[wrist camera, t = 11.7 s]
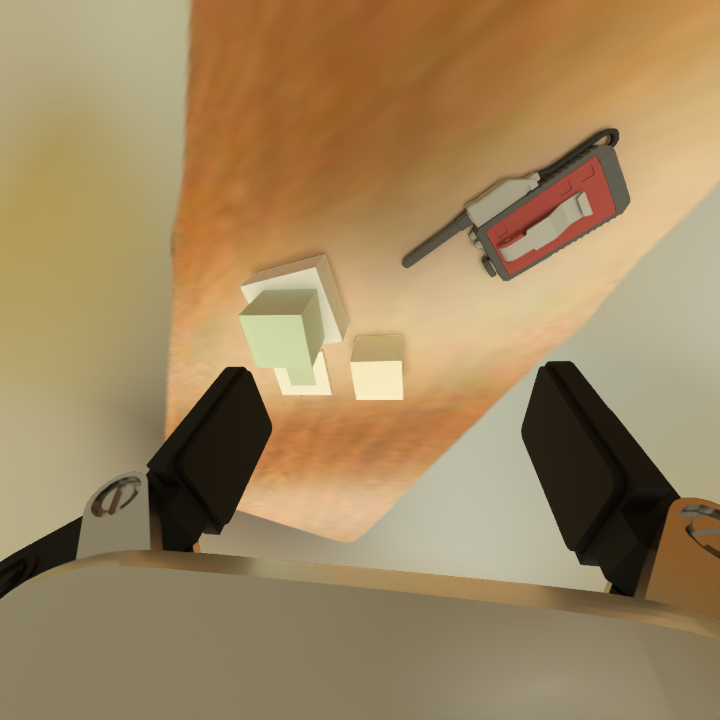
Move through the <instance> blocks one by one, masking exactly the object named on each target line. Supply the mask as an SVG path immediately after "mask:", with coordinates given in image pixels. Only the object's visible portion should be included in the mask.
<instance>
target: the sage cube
mask: <svg viewBox="0 0 720 720" xmlns="http://www.w3.org/2000/svg"><path fill="white" fill-rule="evenodd" d="M238 316H239V319H240V322H241V325H242V328H243V331H244V334H245V337H246V340H247V343H248V346H249V349H250V351H251V354H252V357H253V360H254V363H255V366H256V368H306V369H312V367H313V365H314V363H315V360H316V358H317V355H318V353H319V351H320V348H321V346H322V343H323V341H324V339H325V336H324V330H323V323H322V317H321V311H320V305H319V299H318V293H317V289H295V290H263V291H262V292H261V293H260V294H259V295H258V296H257V297H256V298H255V299H254V300H253V301H252V302H251V303H250V304H249V305H248V306H247V307H246V308H245V309H244V310H243V311H242V312H241V313H240V314H239V315H238Z"/></svg>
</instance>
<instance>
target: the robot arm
mask: <svg viewBox="0 0 720 720" xmlns="http://www.w3.org/2000/svg"><path fill="white" fill-rule="evenodd" d="M271 432H272V423H271V421H270V418H269V416H268V413H267V411H266V408H265V406H264V403H263V401H262V398H261V396H260V393H259V391H258V388H257V386H256V383H255V381H254V378H253V376H252V374H251V372H250V371H247V369H246V368H245V367H227V368H225V369H224V370H223V372H222V373H221V374H220V375H219V376H218V378H217V379H216V380H215V381H214V383H213V384H212V385H211V386H210V388H209V389H208V390H207V391H206V392H205V394H204V395H203V396H202V397H201V399H200V400H199V401H198V402H197V404H196V405H195V406H194V407H193V408H192V410H191V411H190V412H189V413H188V415H187V416H186V417H185V418H184V420H183V421H182V422H181V423H180V424H179V426H178V427H177V428H176V429H175V431H174V432H173V433H172V434H171V436H170V437H169V438H168V439H167V440H166V442H165V443H164V444H163V445H162V447H161V448H160V449H159V450H158V452H157V453H156V454H155V456H153V458H152V459H151V460H150V461H149V463H148V464H147V467H148V468H149V469H150V470H149V472H148V473H147V474H146V475H145V474H144V473H142V472H137V471H133V472H128V473H124V474H122V475H119V476H117V477H115V478H113V479H112V480H110V481H108V482H107V483H106V484H104V485H103V486H102V487H100V488H99V489H98V490H97V491H96V492H95V494H93V495H92V497H91V498H90V500H89V501H88V502H87V504H86V507H85V509H84V513H83V516H81V517H79V518H78V519H76V520H74V521H72V522H70V523H69V524H67V525H65V526H63V527H61V528H59V529H58V530H56V531H54V532H52V533H51V534H48V535H47V536H45V537H43V538H41V539H39V540H37V541H36V542H34V543H32V544H30V545H28V546H26V547H25V548H23V549H21V550H19V551H17V552H16V553H14V554H12V555H11V556H9V557H7V558H6V559H4V560H3V561H1V562H0V720H720V505H719V504H716V503H714V502H711V501H708V500H704V499H699V498H681V497H680V496H679V495H678V494H677V492H676V491H675V490H674V488H673V487H672V486H671V485H670V484H669V482H668V481H667V480H666V478H665V477H664V476H663V475H662V473H661V472H660V471H659V469H658V468H657V467H656V466H655V464H654V463H653V462H652V461H651V460H650V458H649V457H648V456H647V454H646V453H645V452H644V450H643V449H642V448H641V447H640V445H639V444H638V443H637V442H636V440H635V439H634V438H633V437H632V435H631V434H630V433H629V432H628V430H627V429H626V428H625V426H624V425H623V424H622V423H621V422H620V420H619V419H618V418H617V416H616V415H615V414H614V413H613V412H612V411H611V410H610V409H609V408H608V407H607V405H606V404H605V403H604V402H603V400H602V399H601V398H600V396H599V395H598V394H597V393H596V391H595V390H594V389H593V388H592V386H591V385H590V384H589V383H588V381H587V380H586V379H585V377H584V376H583V375H582V374H581V372H580V371H579V370H578V368H577V367H576V366H575V365H574V363H572V362H570V361H549V362H547V363H546V365H545V366H542V367H540V368H539V370H538V373H537V377H536V380H535V383H534V387H533V391H532V394H531V398H530V401H529V404H528V408H527V411H526V414H525V418H524V421H523V425H522V429H521V433H522V438H523V441H524V444H525V446H526V449H527V451H528V453H529V456H530V458H531V461H532V463H533V466H534V468H535V470H536V473H537V475H538V478H539V481H540V483H541V485H542V488H543V490H544V493H545V495H546V498H547V500H548V503H549V505H550V507H551V510H552V512H553V515H554V517H555V520H556V522H557V525H558V527H559V530H560V532H561V535H562V537H563V539H564V542H565V544H566V546H567V548H568V549H569V550H570V551H575V553H576V556H577V558H578V560H579V563H580V565H589V566H600V568H601V570H602V572H603V574H604V577H605V579H607V580H608V581H607V584H606V587H605V590H604V592H603V593H601V592H593V591H585V590H576V589H568V588H559V587H551V586H542V585H534V584H524V583H515V582H504V581H494V580H483V579H474V578H464V577H454V576H444V575H434V574H424V573H414V572H403V571H393V570H382V569H371V568H361V567H351V566H339V565H329V564H319V563H308V562H297V561H286V560H274V559H264V558H253V557H252V558H251V557H240V556H229V555H219V554H207V553H201V552H200V546H199V541H198V540H199V538H200V536H201V534H202V532H203V533H205V534H215V535H220V533H221V531H222V529H223V527H224V525H225V524H228V523H229V522H230V520H231V518H232V516H233V514H234V512H235V510H236V508H237V505H238V503H239V501H240V499H241V497H242V495H243V493H244V490H245V488H246V486H247V484H248V482H249V480H250V478H251V475H252V473H253V471H254V469H255V467H256V465H257V463H258V460H259V458H260V456H261V454H262V452H263V450H264V448H265V445H266V443H267V441H268V439H269V437H270V435H271Z"/></svg>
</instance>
